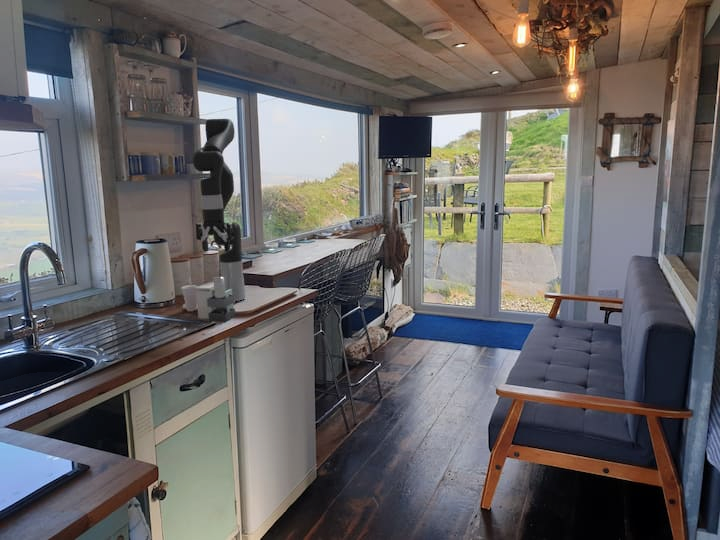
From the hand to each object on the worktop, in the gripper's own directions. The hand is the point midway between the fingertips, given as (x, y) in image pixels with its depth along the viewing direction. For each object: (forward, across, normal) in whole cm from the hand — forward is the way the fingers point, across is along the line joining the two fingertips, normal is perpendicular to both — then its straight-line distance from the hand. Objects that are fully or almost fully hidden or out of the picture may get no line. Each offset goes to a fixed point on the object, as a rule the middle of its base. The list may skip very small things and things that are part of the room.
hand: (216, 251), depth 200 cm
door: (+26, 0, -3) cm, 26 cm away
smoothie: (+26, +19, -9) cm, 33 cm away
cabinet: (+26, +3, -3) cm, 26 cm away
